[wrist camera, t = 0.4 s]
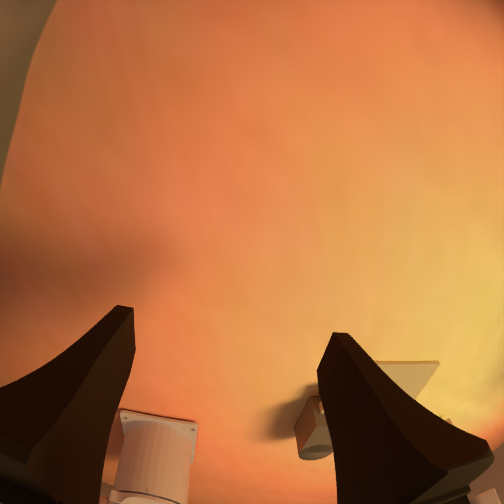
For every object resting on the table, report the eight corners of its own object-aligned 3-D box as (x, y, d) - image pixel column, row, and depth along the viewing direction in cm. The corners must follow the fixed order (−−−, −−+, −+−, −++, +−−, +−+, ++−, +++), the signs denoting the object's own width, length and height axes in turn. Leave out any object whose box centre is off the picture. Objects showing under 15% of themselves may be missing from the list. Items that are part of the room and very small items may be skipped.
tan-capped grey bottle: (321, 433, 31) (326, 459, 28) (290, 433, 30) (294, 460, 27) (353, 380, 27) (363, 410, 24) (318, 379, 26) (326, 410, 23)
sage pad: (390, 425, 32) (391, 428, 31) (329, 429, 31) (330, 432, 30) (438, 360, 27) (440, 363, 26) (372, 361, 26) (373, 364, 25)
